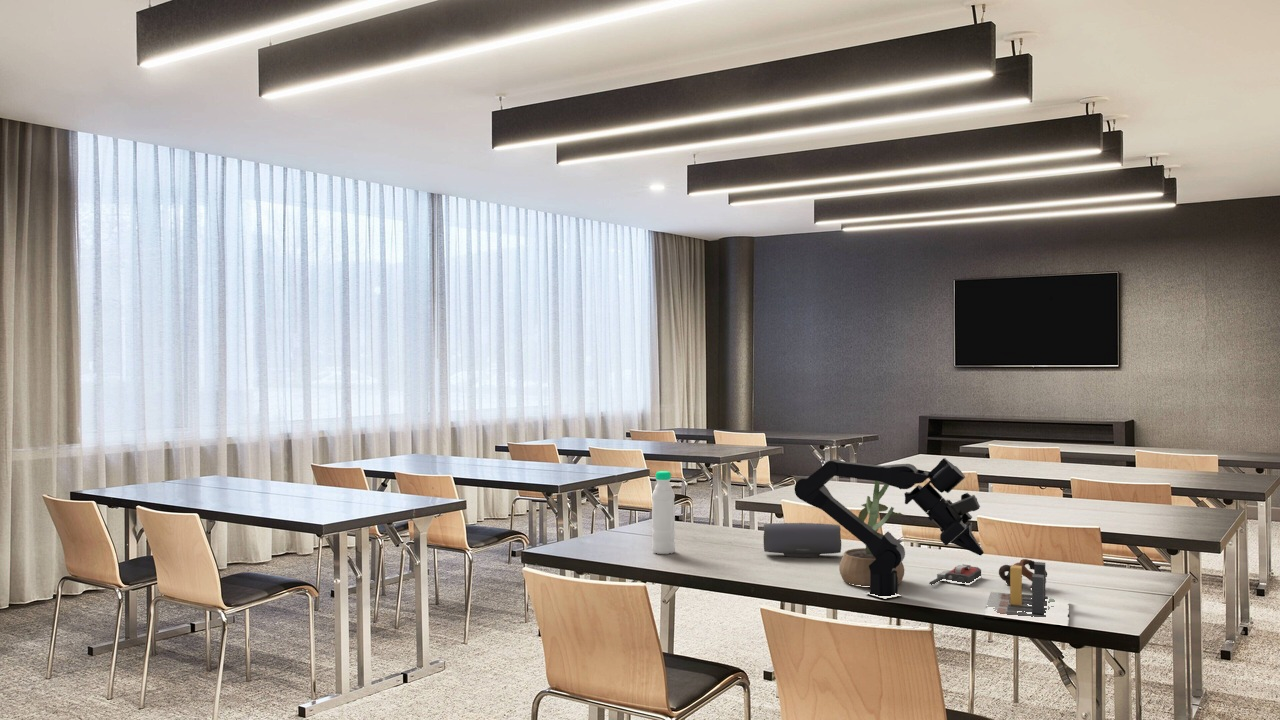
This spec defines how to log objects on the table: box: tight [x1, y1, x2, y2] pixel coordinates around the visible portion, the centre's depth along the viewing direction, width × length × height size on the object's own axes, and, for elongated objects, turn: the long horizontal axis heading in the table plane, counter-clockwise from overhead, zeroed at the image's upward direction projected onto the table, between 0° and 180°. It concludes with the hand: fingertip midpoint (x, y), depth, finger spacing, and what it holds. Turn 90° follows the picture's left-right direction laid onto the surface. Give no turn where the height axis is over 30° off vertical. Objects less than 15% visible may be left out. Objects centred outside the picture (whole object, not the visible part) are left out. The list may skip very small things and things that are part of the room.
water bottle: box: [651, 470, 676, 555], centre depth 289 cm, size 7×7×25 cm
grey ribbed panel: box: [985, 561, 1055, 617], centre depth 221 cm, size 18×22×10 cm
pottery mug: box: [998, 558, 1048, 589], centre depth 243 cm, size 12×10×8 cm
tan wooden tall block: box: [1009, 564, 1023, 605], centre depth 222 cm, size 2×3×9 cm
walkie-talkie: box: [929, 563, 982, 586], centre depth 250 cm, size 9×4×20 cm
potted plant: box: [838, 481, 907, 586], centre depth 252 cm, size 22×18×30 cm
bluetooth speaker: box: [763, 522, 842, 558], centre depth 283 cm, size 23×9×10 cm, turn 84°
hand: (982, 554), depth 225 cm, fingers closed
